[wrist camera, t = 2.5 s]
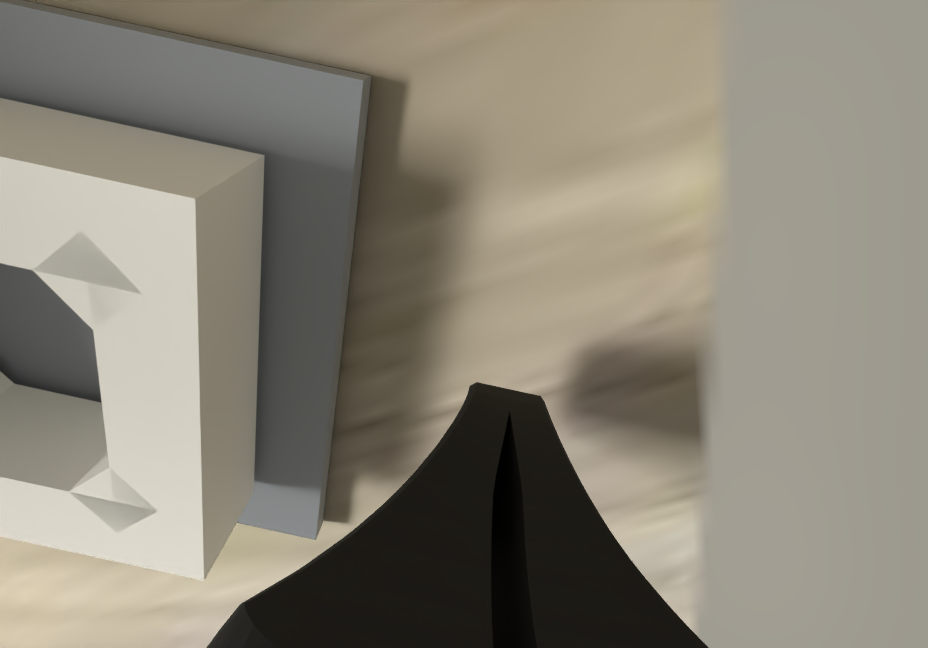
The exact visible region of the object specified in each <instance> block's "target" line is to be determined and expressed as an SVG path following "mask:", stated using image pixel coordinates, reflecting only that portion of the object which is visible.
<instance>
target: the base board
mask: <svg viewBox="0 0 928 648" xmlns="http://www.w3.org/2000/svg"><path fill="white" fill-rule="evenodd" d="M371 77H372V76H370V75H366V74H361V73H356V72H352V71H347V70H343V69H338V68H333V67H329V66H324V65H320V64H315V63H310V62H306V61H301V60H297V59H292V58H287V57H283V56H278V55H273V54H269V53H264V52H260V51H255V50H250V49H246V48H241V47H237V46H232V45H227V44H223V43H218V42H214V41H209V40H204V39H200V38H195V37H191V36H186V35H181V34H177V33H172V32H167V31H163V30H158V29H154V28H149V27H144V26H140V25H135V24H131V23H126V22H121V21H117V20H112V19H108V18H103V17H98V16H94V15H89V14H85V13H80V12H75V11H71V10H66V9H61V8H57V7H52V6H48V5H43V4H38V3H34V2H29V1H25V0H0V98H3V99H8V100H13V101H17V102H22V103H26V104H31V105H36V106H40V107H45V108H49V109H54V110H59V111H63V112H68V113H72V114H77V115H82V116H86V117H91V118H96V119H100V120H105V121H109V122H114V123H119V124H123V125H128V126H132V127H137V128H142V129H146V130H151V131H155V132H160V133H165V134H169V135H174V136H178V137H183V138H188V139H192V140H197V141H201V142H206V143H211V144H215V145H220V146H224V147H229V148H234V149H238V150H243V151H247V152H252V153H257V154H261V155H264V186H263V218H262V249H261V280H260V311H259V342H258V374H257V405H256V436H255V467H254V492H253V494H252V496H251V498H250V500H249V501H248V503H247V505H246V507H245V508H244V510H243V512H242V514H241V516H240V517H239V519H238V521H237V523H240V524H245V525H250V526H254V527H259V528H263V529H268V530H273V531H277V532H282V533H286V534H291V535H295V536H300V537H305V538H309V539H314V540H316V538H317V536H318V533H319V531H320V528H321V526H322V523H323V517H324V508H325V499H326V490H327V481H328V471H329V462H330V453H331V444H332V435H333V426H334V416H335V407H336V398H337V389H338V380H339V371H340V362H341V352H342V343H343V334H344V325H345V316H346V307H347V297H348V288H349V279H350V270H351V261H352V252H353V242H354V233H355V224H356V215H357V206H358V197H359V187H360V178H361V169H362V160H363V151H364V142H365V132H366V123H367V114H368V105H369V96H370V87H371ZM0 371H1V372H2V373H3V374H4V375H5V376H6V377H7V378H9V379H10V380H11V381H12V382H13V383H14V384H18V385H23V386H27V387H32V388H36V389H41V390H45V391H50V392H55V393H59V394H64V395H68V396H73V397H78V398H82V399H87V400H91V401H96V402H101V403H102V401H101V392H100V384H99V376H98V367H97V359H96V350H95V342H94V333H93V329H92V328H91V327H90V326H89V325H88V324H86V323H85V322H84V321H83V320H82V319H81V318H80V317H79V316H78V315H77V314H76V313H75V312H74V311H73V310H72V309H71V308H70V307H69V306H68V305H67V304H66V303H65V302H64V301H63V300H62V299H61V298H60V297H59V296H58V295H57V294H56V293H55V292H54V291H53V290H52V289H51V288H50V287H49V286H48V285H47V284H46V283H45V282H44V281H43V280H42V279H41V278H40V277H39V276H38V275H37V274H36V273H35V272H34V271H33V270H29V269H25V268H20V267H15V266H11V265H6V264H2V263H0Z"/></svg>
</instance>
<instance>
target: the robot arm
mask: <svg viewBox="0 0 928 648" xmlns="http://www.w3.org/2000/svg"><path fill="white" fill-rule="evenodd" d="M207 648H708V647H707V646H706V645H705V644H704V643H703V642H702V641H701V640H700V639H699V638H698V637H697V635H696V634H695V633H694V632H693V631H692V630H691V629H690V628H689V627H688V626H687V625H686V624H685V623H684V622H683V621H682V620H681V619H680V618H679V617H678V615H677V614H676V613H675V612H674V611H673V610H672V609H671V608H670V607H669V605H668V604H667V603H666V602H665V601H664V600H663V598H662V597H661V596H660V595H659V594H658V593H657V591H656V590H655V589H654V588H653V587H652V586H651V584H650V583H649V582H648V581H647V580H646V579H645V577H644V576H643V575H642V574H641V572H640V571H639V570H638V569H637V567H636V566H635V565H634V563H633V562H632V561H631V560H630V558H629V557H628V556H627V554H626V553H625V551H624V550H623V549H622V547H621V546H620V544H619V543H618V542H617V540H616V539H615V537H614V536H613V534H612V533H611V531H610V530H609V528H608V527H607V525H606V524H605V522H604V521H603V519H602V517H601V516H600V514H599V513H598V511H597V509H596V507H595V506H594V504H593V502H592V501H591V499H590V497H589V496H588V494H587V492H586V490H585V489H584V487H583V485H582V483H581V481H580V479H579V477H578V476H577V474H576V472H575V470H574V468H573V466H572V464H571V462H570V460H569V458H568V456H567V454H566V452H565V450H564V448H563V445H562V443H561V441H560V439H559V437H558V434H557V432H556V430H555V427H554V425H553V423H552V420H551V418H550V415H549V413H548V410H547V407H546V405H545V402H544V401H543V399H542V398H541V396H537V395H533V394H528V393H524V392H519V391H514V390H510V389H505V388H501V387H496V386H491V385H487V384H482V383H478V382H477V383H475V384H473V385H471V386H470V387H469V391H468V395H467V397H466V400H465V402H464V404H463V406H462V408H461V410H460V411H459V413H458V415H457V416H456V418H455V420H454V421H453V423H452V424H451V426H450V427H449V429H448V430H447V432H446V433H445V435H444V436H443V437H442V439H441V440H440V442H439V443H438V444H437V446H436V447H435V448H434V450H433V451H432V452H431V453H430V454H429V456H428V457H427V458H426V459H425V460H424V462H423V463H422V464H421V465H420V466H419V468H418V469H417V470H416V471H415V472H414V474H413V475H412V476H411V477H410V478H409V479H408V480H407V481H406V482H405V483H404V484H403V485H402V486H401V487H400V488H399V489H398V490H397V491H396V492H395V493H394V494H393V495H392V496H391V497H390V498H389V499H388V500H387V501H386V502H385V503H384V504H383V505H382V506H381V507H380V508H379V509H377V510H376V511H375V512H374V513H373V514H372V515H371V516H369V517H368V518H367V519H366V520H365V521H364V522H363V523H361V524H360V525H359V526H358V527H357V528H355V529H354V530H353V531H352V532H350V533H349V534H348V535H347V536H345V537H344V538H343V539H341V540H340V541H338V542H337V543H336V544H334V545H333V546H331V547H330V548H329V549H327V550H326V551H324V552H323V553H322V554H320V555H319V556H317V557H316V558H315V559H313V560H312V561H310V562H309V563H308V564H306V565H305V566H303V567H302V568H300V569H299V570H297V571H296V572H294V573H292V574H291V575H289V576H287V577H286V578H284V579H282V580H281V581H279V582H277V583H275V584H274V585H272V586H270V587H269V588H267V589H265V590H264V591H262V592H260V593H259V594H257V595H255V596H253V597H252V598H250V599H248V600H247V601H245V602H243V603H242V604H240V605H239V607H238V608H237V609H236V610H235V611H234V613H233V614H232V615H231V616H230V618H229V619H228V620H227V621H226V623H225V624H224V625H223V626H222V628H221V629H220V630H219V631H218V633H217V634H216V636H215V637H214V638H213V640H212V641H211V642H210V644H209V645H208V646H207Z"/></svg>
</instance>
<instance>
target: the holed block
mask: <svg viewBox="0 0 928 648" xmlns="http://www.w3.org/2000/svg"><path fill="white" fill-rule="evenodd" d="M263 186H264V155H261V154H257V153H252V152H247V151H243V150H238V149H234V148H229V147H224V146H220V145H215V144H211V143H206V142H201V141H197V140H192V139H188V138H183V137H178V136H174V135H169V134H165V133H160V132H155V131H151V130H146V129H142V128H137V127H132V126H128V125H123V124H119V123H114V122H109V121H105V120H100V119H96V118H91V117H86V116H82V115H77V114H72V113H68V112H63V111H59V110H54V109H49V108H45V107H40V106H36V105H31V104H26V103H22V102H17V101H13V100H8V99H3V98H0V263H2V264H6V265H11V266H15V267H20V268H25V269H29V270H33V271H34V272H35V273H36V274H37V275H38V276H39V277H40V278H41V279H42V280H43V281H44V282H45V283H46V284H47V285H48V286H49V287H50V288H51V289H52V290H53V291H54V292H55V293H56V294H57V295H58V296H59V297H60V298H61V299H62V300H63V301H64V302H65V303H66V304H67V305H68V306H69V307H70V308H71V309H72V310H73V311H74V312H75V313H76V314H77V315H78V316H79V317H80V318H81V319H82V320H83V321H84V322H85V323H86V324H88V325H89V326H90V327H91V328H92V329H93V333H94V342H95V350H96V359H97V367H98V376H99V384H100V392H101V401H102V403H101V402H96V401H91V400H87V399H82V398H78V397H73V396H68V395H64V394H59V393H55V392H50V391H45V390H41V389H36V388H32V387H27V386H23V385H18V384H14V383H13V382H12V381H11V380H10V379H9V378H7V377H6V376H5V375H4V374H3V373H2V372H1V371H0V537H5V538H10V539H14V540H19V541H23V542H28V543H33V544H37V545H42V546H46V547H51V548H56V549H60V550H65V551H69V552H74V553H79V554H83V555H88V556H92V557H97V558H101V559H106V560H111V561H115V562H120V563H124V564H129V565H134V566H138V567H143V568H147V569H152V570H157V571H161V572H166V573H170V574H175V575H179V576H184V577H189V578H193V579H198V580H202V581H204V580H205V578H206V576H207V575H208V573H209V571H210V569H211V567H212V566H213V564H214V562H215V560H216V559H217V557H218V555H219V553H220V551H221V550H222V548H223V546H224V544H225V542H226V541H227V539H228V537H229V535H230V534H231V532H232V530H233V528H234V526H235V525H236V523H237V521H238V519H239V517H240V516H241V514H242V512H243V510H244V508H245V507H246V505H247V503H248V501H249V500H250V498H251V496H252V494H253V492H254V467H255V436H256V405H257V374H258V342H259V311H260V280H261V249H262V218H263Z"/></svg>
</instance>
